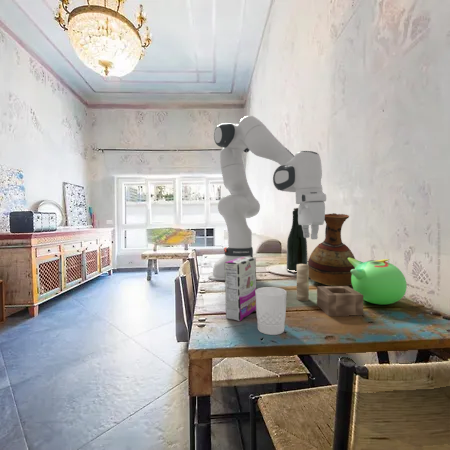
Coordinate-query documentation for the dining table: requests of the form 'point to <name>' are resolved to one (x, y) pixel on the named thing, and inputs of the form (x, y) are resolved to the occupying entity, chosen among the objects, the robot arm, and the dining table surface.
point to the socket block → (339, 300)
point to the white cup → (270, 310)
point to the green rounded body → (378, 281)
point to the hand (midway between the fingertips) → (310, 238)
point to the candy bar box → (240, 287)
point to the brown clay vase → (332, 255)
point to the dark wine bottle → (296, 244)
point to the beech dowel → (302, 282)
